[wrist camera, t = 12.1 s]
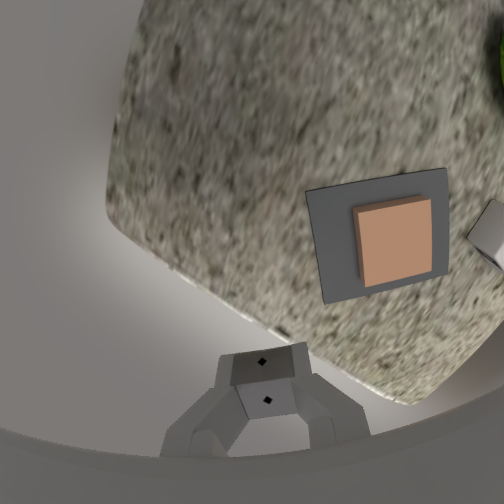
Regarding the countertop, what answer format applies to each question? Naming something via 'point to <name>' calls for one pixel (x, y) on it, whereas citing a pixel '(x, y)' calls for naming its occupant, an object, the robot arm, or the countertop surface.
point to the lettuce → (502, 59)
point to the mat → (344, 237)
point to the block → (393, 239)
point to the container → (490, 235)
